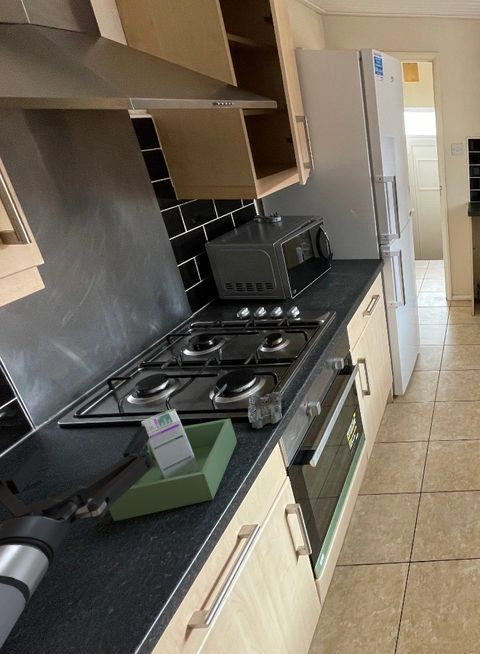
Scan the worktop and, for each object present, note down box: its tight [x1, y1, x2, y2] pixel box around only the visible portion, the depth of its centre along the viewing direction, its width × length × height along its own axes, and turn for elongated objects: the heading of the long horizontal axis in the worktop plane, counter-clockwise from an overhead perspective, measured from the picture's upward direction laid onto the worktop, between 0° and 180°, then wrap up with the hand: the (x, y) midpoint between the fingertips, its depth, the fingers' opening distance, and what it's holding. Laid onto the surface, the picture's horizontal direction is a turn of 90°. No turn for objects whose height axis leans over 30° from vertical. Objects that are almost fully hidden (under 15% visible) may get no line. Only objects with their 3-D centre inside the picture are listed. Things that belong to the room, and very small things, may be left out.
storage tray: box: [108, 418, 238, 522], centre depth 89 cm, size 17×17×7 cm
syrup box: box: [140, 408, 200, 479], centre depth 87 cm, size 6×6×14 cm
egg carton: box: [247, 391, 283, 429], centre depth 108 cm, size 11×8×4 cm
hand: (93, 443), depth 69 cm, fingers open, 13 cm apart
